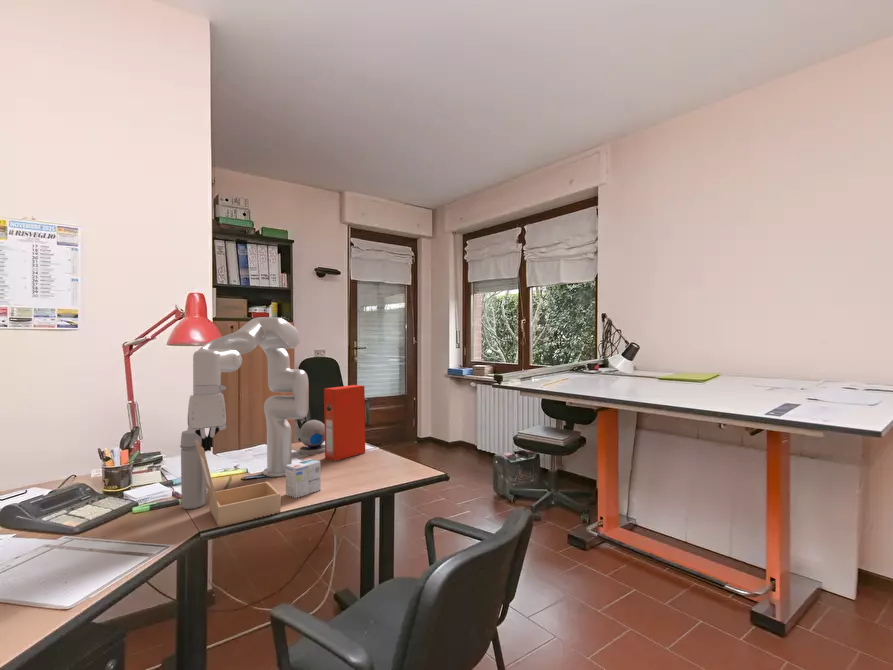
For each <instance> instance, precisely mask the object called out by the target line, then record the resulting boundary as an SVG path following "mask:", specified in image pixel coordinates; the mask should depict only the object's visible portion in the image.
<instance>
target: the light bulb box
mask: <svg viewBox="0 0 893 670" xmlns="http://www.w3.org/2000/svg"><path fill="white" fill-rule="evenodd" d="M285 469H286V475H285V495H286V494H288V495H290V496H289V497H291V496H292V497H291V498H293V497H294V498H293V499H295V498H296V499H298V498H300V496H301V497H304V496H307V495H311V494H313V492H314V493H316V491H317V492H319V491H318V490H320V491H321V490H322V488H321V487H322V486H321V482H322V481H321V480H322V479H321V461H320V460H316V459H312V458H307V459H304V460H300V461H297V462H293V463H292V464H289V465H285ZM310 493H311V494H310ZM288 495H287V496H288ZM297 497H298V498H297Z"/></svg>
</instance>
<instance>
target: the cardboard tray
mask: <svg viewBox="0 0 893 670" xmlns="http://www.w3.org/2000/svg"><path fill="white" fill-rule="evenodd" d="M215 495H216V499H217V503H218V507H216V505H215V504H214V502H213V500H212V499H211V497H210V496H209V513H210V512H211V513H210V514H211V516H212V518H213V520H214V522H215V524H216V525H217V527H218V528H222V527H226V526H230V525H233V524H239V523H242V522H247V521H250V520H255V519H254V518H256V519H258V518H257V517H260V518H262V517H261V516H264V517H267V516H266V515H268V516H270V515H269V514H272V515H274V514H273V513H277V514H279V513H278V512H280V513H281V499H282V497H281V493H280V492H279V491H278V490H277V489H276V488H275V487H274V486H273V485H272V484H271V483H270V482H269V481H264V482H258V483H253V484H247V485H243V486H239V487H232V488H228V489H222V490H217V491H215Z"/></svg>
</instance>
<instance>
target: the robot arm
mask: <svg viewBox="0 0 893 670" xmlns="http://www.w3.org/2000/svg"><path fill="white" fill-rule="evenodd" d="M300 341H301V335H300V332H299V330H298V329H297V327H295V326H294V325H292V324H291V323H290V322H289V321H287V320H286V319H284V318H282V317H278V316H274V317H273V316H272V317H271V316H270V317H269V316H268V317H267V316H263V317H262V316H259V317H255V318H252V319H250V320H249V321H247V323H245V324H243V326H242V327H240V328H239V329H238V330H237V331H234V332H231V333H228V334H226V335H223V336H221V337H220V336H219V337H217V338H215V339H212V340H210V341H208V342H207V343H205V344H204V345H202V346H201V347H200V348H199V349H198V350H196V351H194V353H193V355H192V362H193V363H192V364H193V365H192V370H193V371H192V394H191V395H190V396H189V400H188V405H187V406H188V407H187V408H188V409H187V429H186V430H187V432H188V433H195V434H197V435H199V436H200V437H201V446H202V447H203V449H204V451H205V452H208V451H209V452H211V450H212V448H214V437H215V436H216V435H217V434H218V433H219V431H223V430H226V429H228V428H227V424H226V423H227V414H226V413H227V412H226V402H225V396H224V394H223V393H222V392H223V391H226V390H227V386H226V385H222V380H221V379H222V378H221V377H222V373H232V372H235V371H237V370H239V369H240V367H241V366H242V364H243V357H242V355H244V354H247V353H251V352H252V351H254V349H256V347H258V346H259V347H260V349H262V351H264V354H265V355H266V359H267V387H268V389H269V391H271V392H273V393H292V394H293V395H282V394H281V395H272V396H269V397H268V398H266V400H265V401H264V404H263V412H264V416H265V423H266V462H267V463H266V468H265V469H263V472H262V474H263V475H264V476H265V475H266V477H271V478H275V477H277V478H278V477H284V476H285V477H286V469H285V465H289V464H292V462H293V456H292V455H293V454H292V450H293V449H292V448H293V447H292V426H291V424H290V423H289V421H288V420H301V419H305V418H306V417H307V416H308V413H309V408H310V407H309V404H310V403H309V397H310V396H309V392H310V389H309V384H310V383H309V377H308V373H307V372H306V371H305V370H303V369H301V368H300V369H299V368H295V369H294V368H293V369H291V366H290V363H291V362H290V361H291V360H290V355H289V353H288V352H287V350H290V349H296V348H297V347H298V346H299V344H300ZM198 429H199V430H198ZM205 429H208V434H207V435H206V430H205Z"/></svg>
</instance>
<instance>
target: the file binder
mask: <svg viewBox="0 0 893 670" xmlns="http://www.w3.org/2000/svg"><path fill="white" fill-rule="evenodd" d="M365 393H366V392H365V385H360V384H359V385H358V384H350V385H344V386H343V385H342V386H335V387H327V388H325V387H324V388H323V399H324V400H323V404H324V406H323V408H324V410H323V412H324V425H325V441H324V445H325V452H324V458H325V459H326V460H329V461H334V462H335V461H336V462H337V461H339V460H343V459H347V458H350V457H355V456H357V455H361V454H365V453H366V410H365V409H366V404H365V402H366V400H365Z"/></svg>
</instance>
